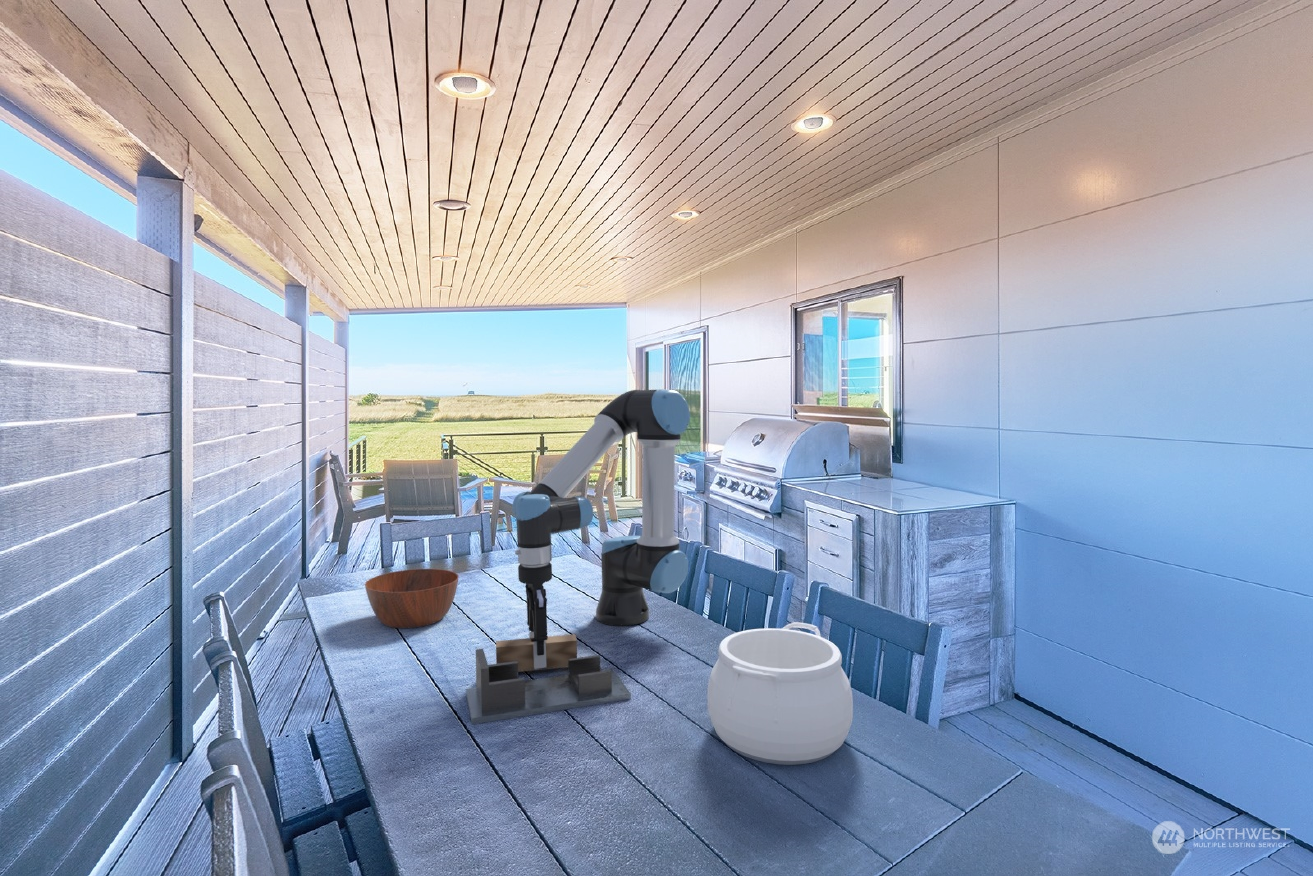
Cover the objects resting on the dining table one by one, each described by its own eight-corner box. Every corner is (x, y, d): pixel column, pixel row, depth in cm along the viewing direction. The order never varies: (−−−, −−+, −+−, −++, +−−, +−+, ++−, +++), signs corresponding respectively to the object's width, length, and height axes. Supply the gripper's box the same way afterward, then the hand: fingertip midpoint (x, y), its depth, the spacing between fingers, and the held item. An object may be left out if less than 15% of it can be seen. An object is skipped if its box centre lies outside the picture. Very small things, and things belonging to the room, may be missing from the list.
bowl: (345, 627, 186) (344, 586, 185) (410, 602, 209) (409, 565, 208) (417, 640, 176) (416, 596, 176) (477, 611, 199) (476, 573, 199)
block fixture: (611, 673, 154) (611, 630, 154) (630, 699, 141) (630, 651, 141) (466, 694, 143) (465, 648, 143) (471, 724, 130) (471, 673, 130)
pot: (823, 796, 107) (824, 689, 106) (677, 750, 121) (677, 655, 120) (871, 722, 131) (872, 634, 130) (745, 691, 145) (746, 611, 144)
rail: (575, 659, 160) (575, 634, 159) (577, 666, 156) (576, 640, 155) (496, 666, 156) (496, 641, 155) (496, 673, 152) (495, 647, 151)
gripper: (512, 556, 161) (515, 652, 163) (524, 574, 145) (528, 681, 146) (544, 553, 164) (547, 647, 165) (559, 571, 147) (562, 675, 149)
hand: (538, 663), depth 156 cm, fingers closed on rail, 4 cm apart
